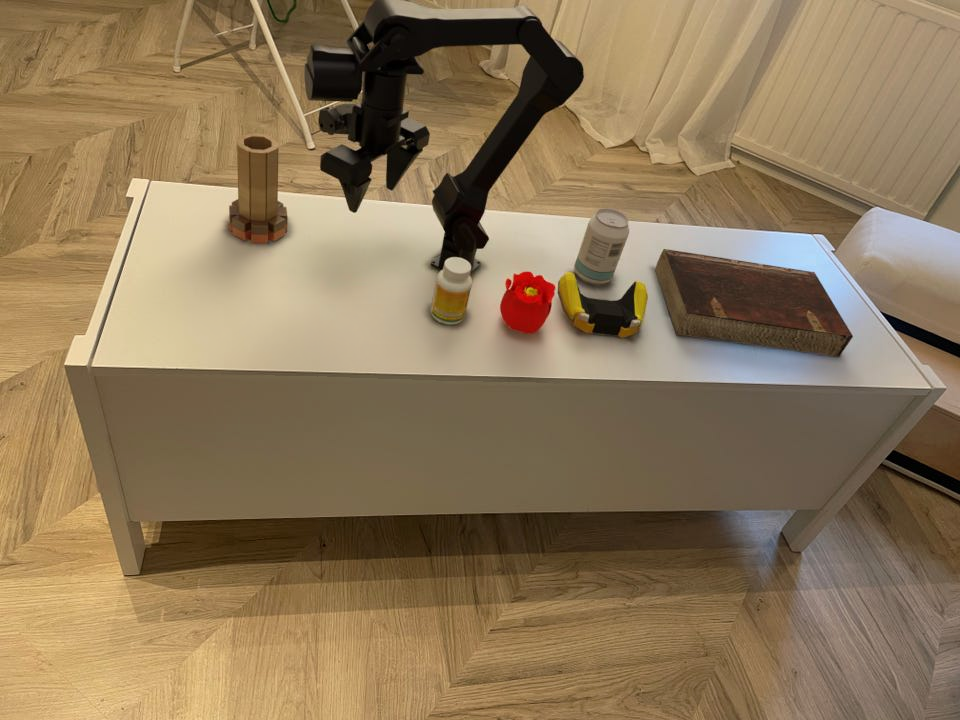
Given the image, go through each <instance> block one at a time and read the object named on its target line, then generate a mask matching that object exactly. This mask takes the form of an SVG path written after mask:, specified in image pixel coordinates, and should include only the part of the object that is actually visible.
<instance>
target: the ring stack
mask: <svg viewBox="0 0 960 720" xmlns="http://www.w3.org/2000/svg"><path fill="white" fill-rule="evenodd" d="M228 214H229V215H228V216H229V217H228V218H229V231H230V232H232V235H233V236H235V237H236V238H238V239H240V240H243V241H244V242H246V241H248V240H250V243H252V244H269V240H271V241H272V242H276V241H278V240H279V239H281V238H283V237H285V236H286V233H287V232H288V209H287V206H284V203H283V202H282V201H279V200H278V207H277V215H276V216H275V217H273V218H271V219H269V220H266V221H252V220H249V219H247V218H245V217H243V216H242V215H240V214H239V211H238V198H236V199H235V200H233V201H232V202H231V205H228Z"/></svg>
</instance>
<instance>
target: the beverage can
mask: <svg viewBox="0 0 960 720" xmlns="http://www.w3.org/2000/svg"><path fill="white" fill-rule="evenodd" d="M629 223H630V222H629V218H628V217H627V216H626V215H625V214H624V213H623V212H621V211H619V210H616V209H613V208H600V209H598V210H597V211H596V212H595V214H594V215H592V216H591V217H590V218H589V220H588V223H587V226H586V229H585V232H584V235H583V238H582V240H581V244H580V247H579V251H578V252H577V257H576V259H575V263H574V265H573V269H574V272H575V273H576V275H577V276H578V277H579V278H580V279H581V280H582V281H583V282H585V283H587V284H591V285H596V286H597V285H601V284H606V283H609V282H611V281H612V280H613V277H614V275H615V273H616V270H617V267H618V264H619V261H620V259H621V257H622V253H623V252H624V248H625V246H626V243H627V240H628V238H629V235H630V226H629Z"/></svg>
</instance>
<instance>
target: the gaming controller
mask: <svg viewBox="0 0 960 720" xmlns="http://www.w3.org/2000/svg"><path fill="white" fill-rule="evenodd" d="M557 296H558V299H559V302H560V306H561V309H562V311H563V313H564V314H565V316H566V318H567V319H568V321H569V322H570V323H571V324H572V326H573V327H575V328H577V329H579V330H580V331H583V332H584V333H587V334H596V335H597V334H598V335H605V336H615V337H619V338H622V339H623V338H626V337H630V336H632V335H634V334H636V333H637V332H638V331H639V330H640V328H641V326H642V324H643V322H644V317H645V314H646V309H647V304H648V300H649V295H648V291H647V287H646V283H643V282H641V281H638V280H635V281H634V282H633V283H632V284H631V285H630V286H629V288H628V289H627V290H626V291H625V292H624V294H623V295H622V296H621V298H619V299H617V300H608V299H602V298H601V299H600V298H594V297H593V298H592V297H587V296H585V295H584V294H583V293H582V292H581V290H580V287H579V284H578V281H577V278H576V275H575V273H573V272H571V271H569V272H566V273H565V274H563V275H562V276H561V277H560V278H559V279H558V281H557Z"/></svg>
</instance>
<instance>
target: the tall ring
mask: <svg viewBox="0 0 960 720" xmlns="http://www.w3.org/2000/svg"><path fill="white" fill-rule="evenodd" d="M236 155H237V156H236V160H237V161H236V162H237V199H238V211H239V214H240V215H242V216H243V217H245V218H247V219H249V220H252V221H266V220H269V219H271V218H273V217H275V216H276V215H277V207H278V201H279V200H278V199H279V197H278V196H279V140H278V139H276V138H274V137H272V136H270V135H268V134H265V133H255V132H250V133H249V132H247V133H245V134H243V135H239V136H238V137H237V138H236Z"/></svg>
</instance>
